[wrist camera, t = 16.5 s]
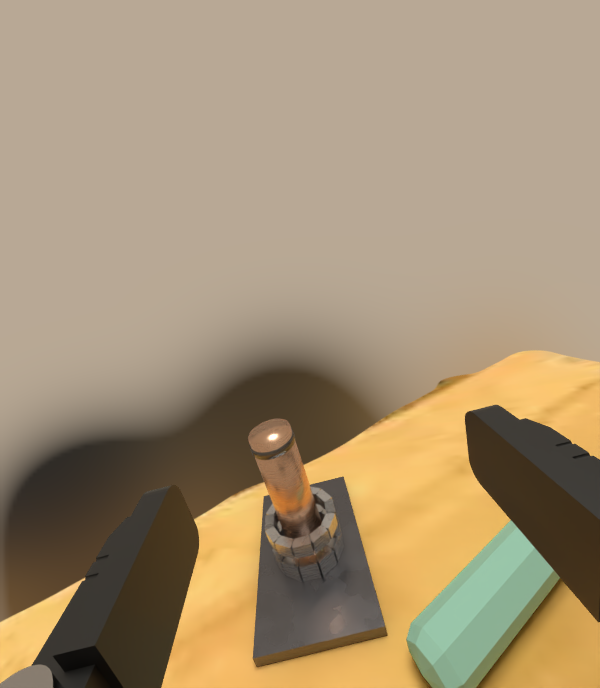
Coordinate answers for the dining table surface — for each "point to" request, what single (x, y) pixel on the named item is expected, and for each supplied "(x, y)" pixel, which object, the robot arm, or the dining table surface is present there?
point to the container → (480, 611)
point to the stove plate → (314, 583)
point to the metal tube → (285, 477)
